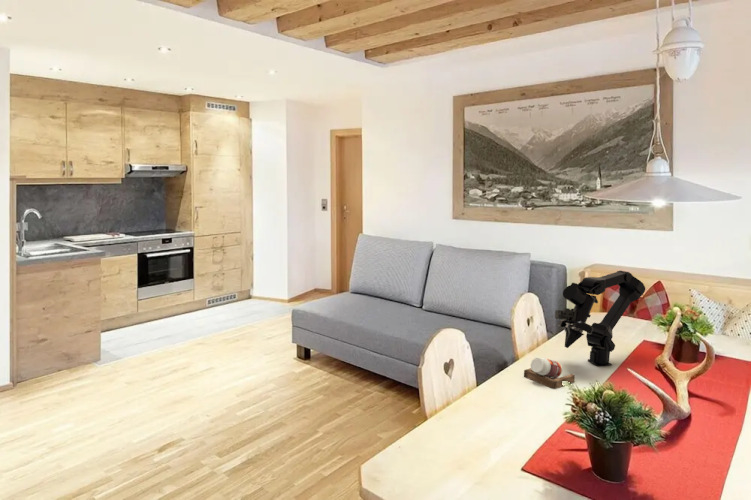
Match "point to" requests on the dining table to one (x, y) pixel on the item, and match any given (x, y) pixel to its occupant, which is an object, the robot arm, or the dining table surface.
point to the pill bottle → (546, 367)
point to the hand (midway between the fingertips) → (566, 347)
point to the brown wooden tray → (548, 379)
